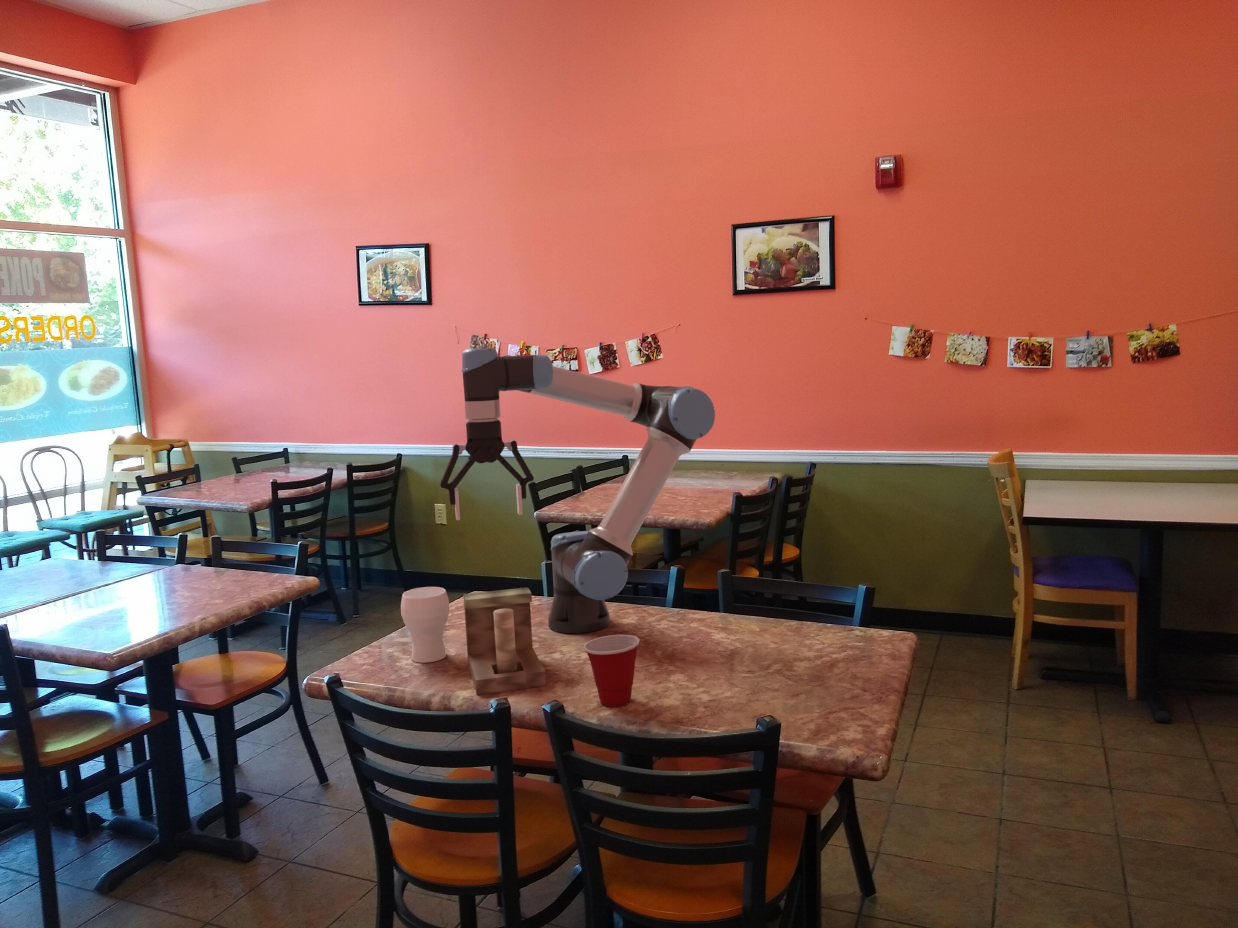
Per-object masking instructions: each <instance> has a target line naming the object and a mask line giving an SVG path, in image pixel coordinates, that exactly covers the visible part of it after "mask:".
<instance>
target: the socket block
mask: <svg viewBox="0 0 1238 928" xmlns="http://www.w3.org/2000/svg"><path fill="white" fill-rule="evenodd" d="M532 599H533V597H532V592H531V590H530V588H529V587H518V588H510V589H508V588H507V589H500V590H492V591H491V590H490V591H482V592H472V593H463V605H464V607H463V609H464V622H465V635H466V638H465V639H466V651H467V666H468V669H469V672H470V677H471V680H472V683H473V686H474V687H473V688H474V690H475V694H476V695H478V696H479V695H487V694H494V693H502V692H509V691H514V690H515V691H516V690H525V689H531V688H540V687H545V686H546V687H547V681H546V680H547V679H546V669H545V668H544V666H543V665H542V662H541V660H540V659H539V657H538V655H537V653H536V651H535V649H534V648H533V647H534V646H533V631H532V630H533V628H532V615H531V613H532V611H531V603H532V602H533V600H532ZM505 608H507V609H512V610H513V616H514V632H515V648H516V663H517V672H510V673H502V674H497V658H496V643H495V628H494V613H493V612H494V611H495V610H498V609H505Z"/></svg>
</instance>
